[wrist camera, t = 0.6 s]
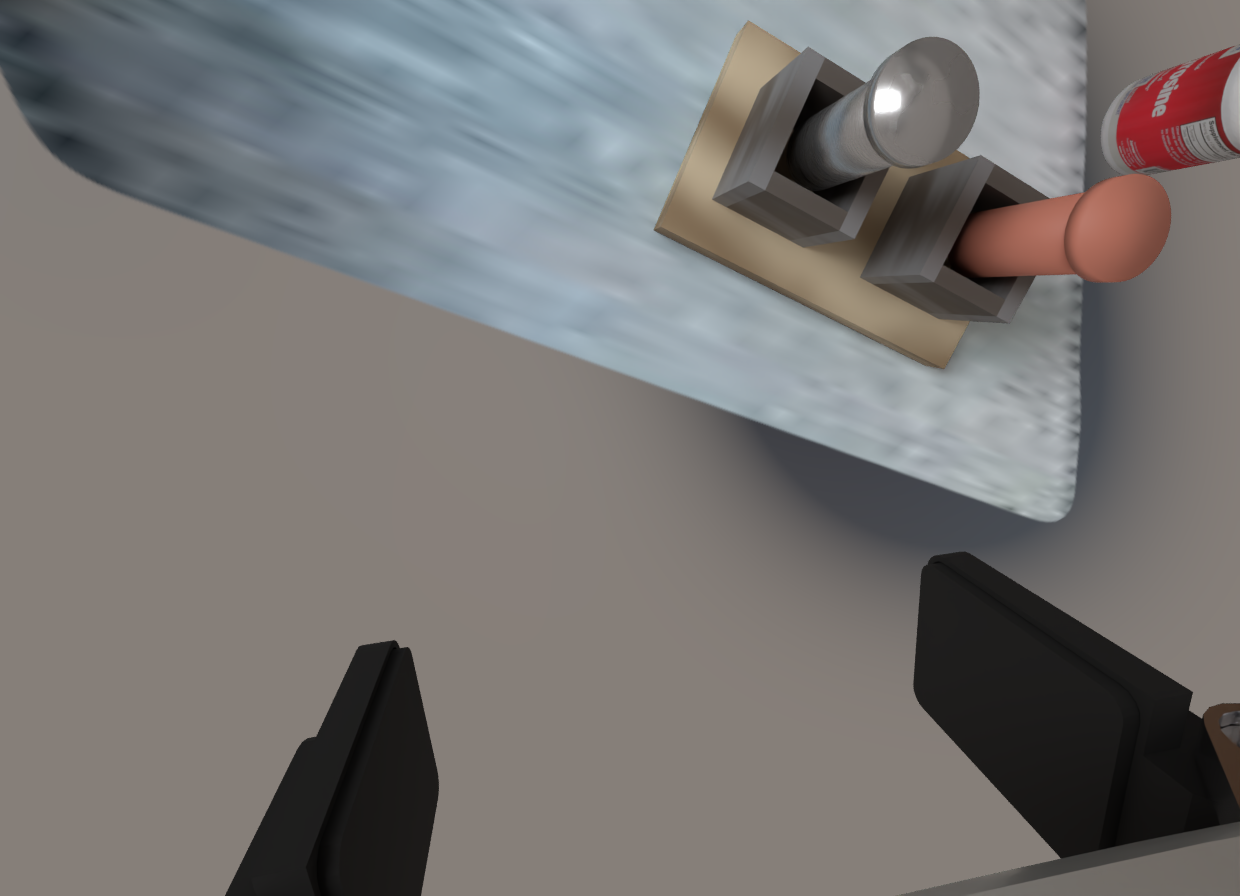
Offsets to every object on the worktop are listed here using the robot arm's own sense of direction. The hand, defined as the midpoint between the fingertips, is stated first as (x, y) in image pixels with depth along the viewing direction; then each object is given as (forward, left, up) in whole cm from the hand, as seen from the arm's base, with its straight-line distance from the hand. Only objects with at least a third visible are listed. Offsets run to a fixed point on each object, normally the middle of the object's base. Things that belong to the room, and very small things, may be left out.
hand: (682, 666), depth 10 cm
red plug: (-18, +18, -23) cm, 34 cm away
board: (-18, +12, -30) cm, 36 cm away
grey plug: (-18, +7, -23) cm, 30 cm away
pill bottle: (-32, +29, -30) cm, 52 cm away
